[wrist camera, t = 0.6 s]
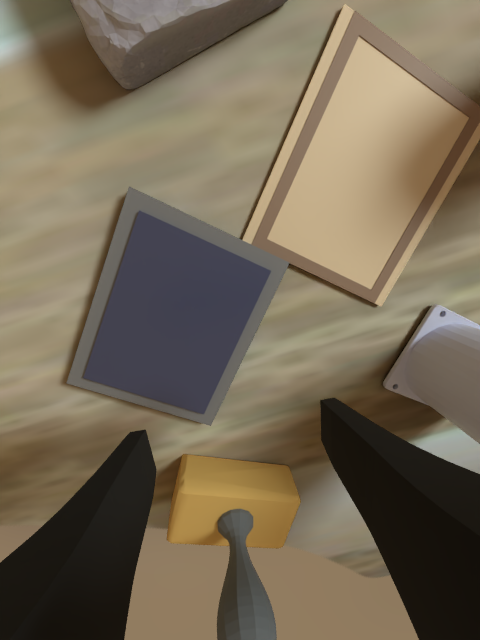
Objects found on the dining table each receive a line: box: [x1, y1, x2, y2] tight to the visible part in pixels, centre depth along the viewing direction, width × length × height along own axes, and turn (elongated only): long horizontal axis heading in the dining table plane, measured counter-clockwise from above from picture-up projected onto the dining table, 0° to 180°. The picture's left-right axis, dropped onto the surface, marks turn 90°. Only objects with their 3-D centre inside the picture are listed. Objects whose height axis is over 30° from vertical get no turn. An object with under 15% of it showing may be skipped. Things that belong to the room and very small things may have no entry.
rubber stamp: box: [167, 454, 301, 640], centre depth 19 cm, size 10×6×12 cm, turn 76°
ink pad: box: [67, 187, 289, 426], centre depth 19 cm, size 11×14×1 cm
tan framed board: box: [242, 4, 480, 306], centre depth 18 cm, size 12×14×1 cm
